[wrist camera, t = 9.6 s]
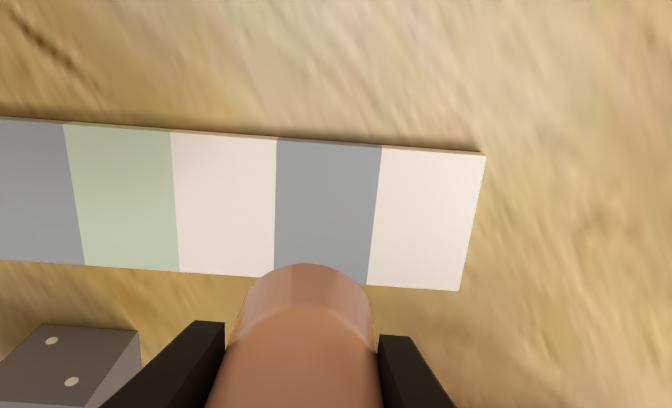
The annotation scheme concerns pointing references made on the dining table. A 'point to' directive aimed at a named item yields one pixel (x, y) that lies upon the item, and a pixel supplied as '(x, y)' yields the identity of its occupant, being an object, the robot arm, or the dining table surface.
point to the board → (234, 202)
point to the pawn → (301, 345)
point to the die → (68, 367)
